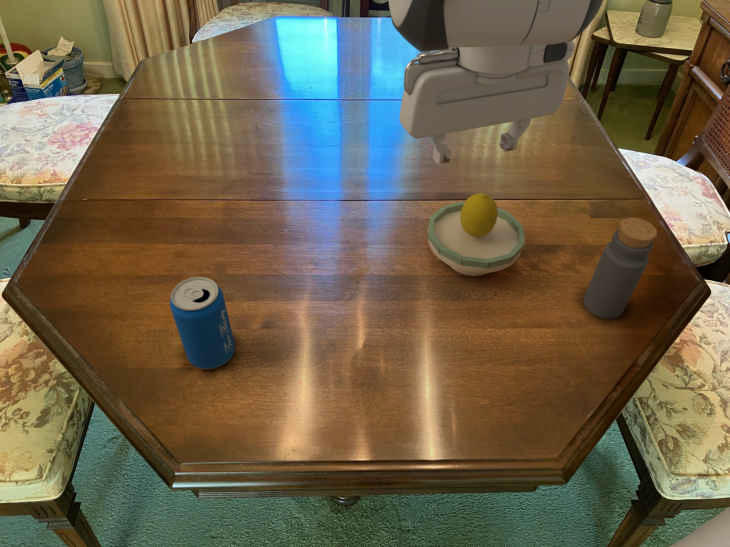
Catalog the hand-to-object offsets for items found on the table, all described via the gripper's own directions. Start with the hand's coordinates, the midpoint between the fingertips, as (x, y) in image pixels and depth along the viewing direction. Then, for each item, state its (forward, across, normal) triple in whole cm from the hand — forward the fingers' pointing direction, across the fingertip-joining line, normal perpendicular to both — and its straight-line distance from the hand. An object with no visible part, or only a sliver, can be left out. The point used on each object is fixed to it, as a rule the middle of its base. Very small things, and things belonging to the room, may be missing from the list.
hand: (474, 154), depth 69 cm
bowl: (+24, +6, +5) cm, 25 cm away
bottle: (+24, +20, -11) cm, 33 cm away
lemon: (+19, +6, +5) cm, 20 cm away
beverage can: (+24, -37, 0) cm, 44 cm away
